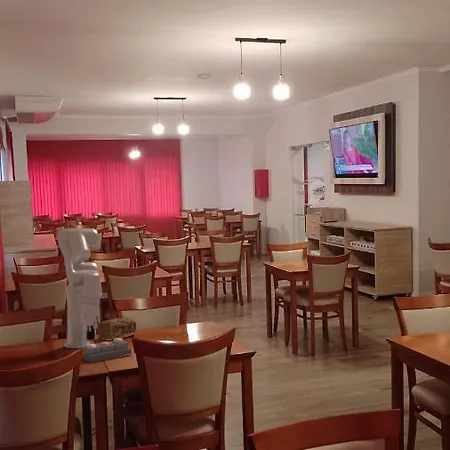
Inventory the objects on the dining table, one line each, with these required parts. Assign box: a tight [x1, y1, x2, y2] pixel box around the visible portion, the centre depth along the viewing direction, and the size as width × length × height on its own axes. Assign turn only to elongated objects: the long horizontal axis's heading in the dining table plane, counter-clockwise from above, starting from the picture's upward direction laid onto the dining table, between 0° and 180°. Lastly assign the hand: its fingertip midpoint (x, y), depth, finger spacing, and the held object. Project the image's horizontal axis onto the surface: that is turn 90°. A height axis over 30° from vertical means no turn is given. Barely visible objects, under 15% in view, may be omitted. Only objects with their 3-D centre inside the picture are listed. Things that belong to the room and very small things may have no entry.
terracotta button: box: [100, 341, 110, 346], centre depth 280 cm, size 4×4×3 cm
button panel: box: [80, 340, 132, 363], centre depth 280 cm, size 12×21×6 cm, turn 130°
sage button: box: [113, 338, 124, 344], centre depth 284 cm, size 4×4×3 cm
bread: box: [97, 317, 137, 340], centre depth 319 cm, size 19×11×10 cm, turn 140°
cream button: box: [87, 343, 97, 348], centre depth 275 cm, size 4×4×3 cm
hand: (90, 339), depth 276 cm, fingers closed
